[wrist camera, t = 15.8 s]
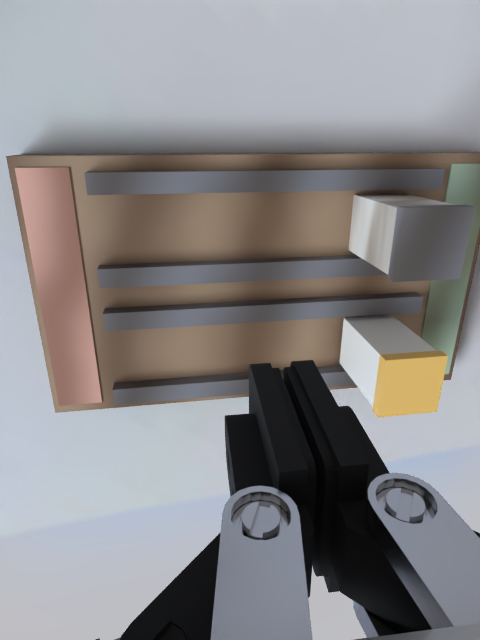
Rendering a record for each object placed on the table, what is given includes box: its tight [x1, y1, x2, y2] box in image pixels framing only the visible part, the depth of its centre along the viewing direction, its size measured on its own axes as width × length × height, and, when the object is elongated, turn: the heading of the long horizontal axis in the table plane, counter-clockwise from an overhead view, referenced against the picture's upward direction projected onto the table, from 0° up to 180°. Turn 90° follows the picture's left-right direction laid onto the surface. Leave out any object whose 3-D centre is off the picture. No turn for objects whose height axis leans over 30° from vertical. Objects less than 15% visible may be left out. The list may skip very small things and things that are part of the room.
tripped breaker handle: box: [339, 315, 448, 417], centre depth 24 cm, size 3×3×6 cm
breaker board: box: [6, 152, 480, 413], centre depth 23 cm, size 25×14×8 cm, turn 90°
